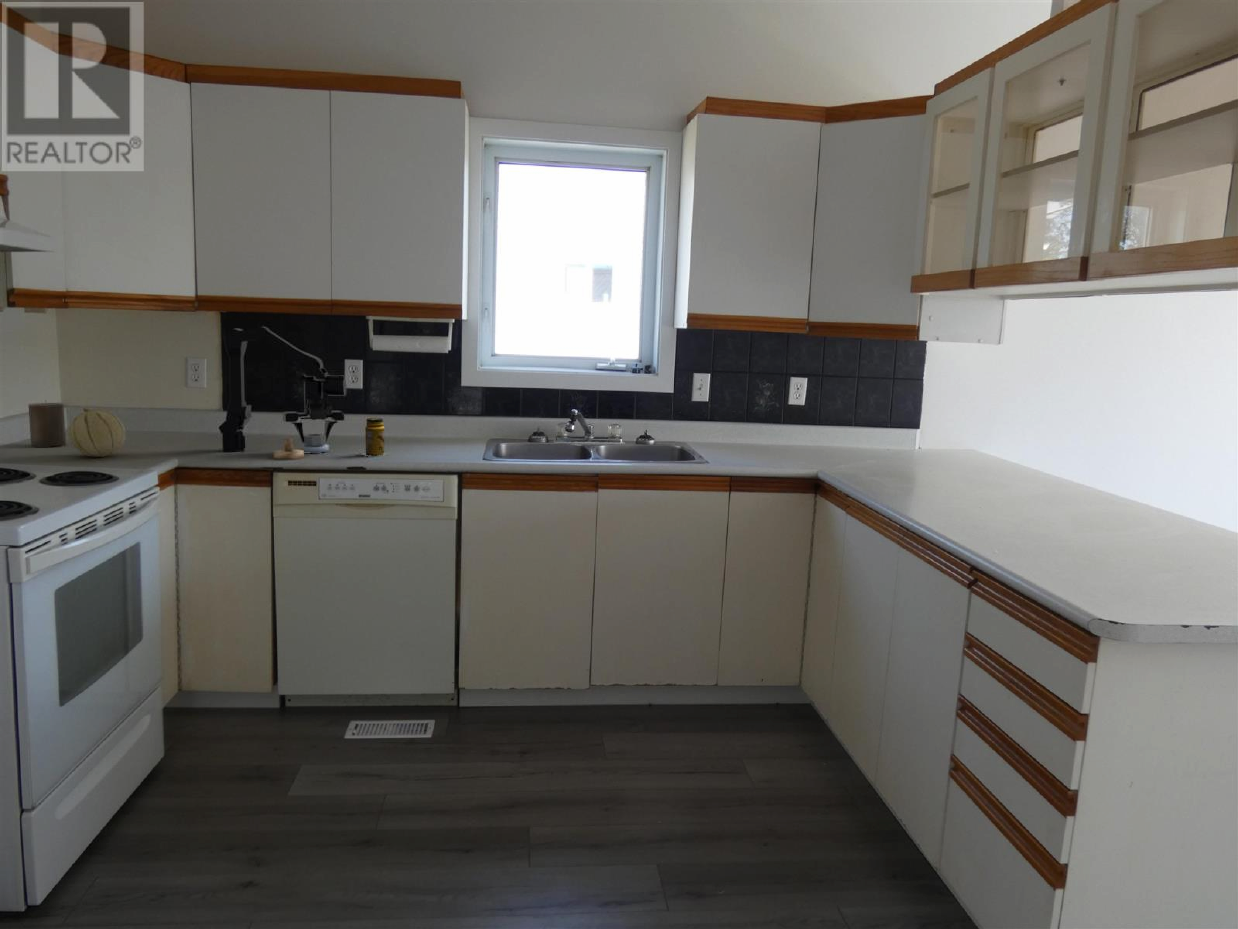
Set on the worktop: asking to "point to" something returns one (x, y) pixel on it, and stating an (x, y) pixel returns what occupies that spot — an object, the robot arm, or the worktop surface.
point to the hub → (315, 448)
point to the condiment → (374, 437)
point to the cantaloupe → (97, 433)
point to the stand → (288, 451)
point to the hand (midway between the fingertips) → (314, 442)
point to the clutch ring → (314, 439)
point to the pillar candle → (47, 424)
